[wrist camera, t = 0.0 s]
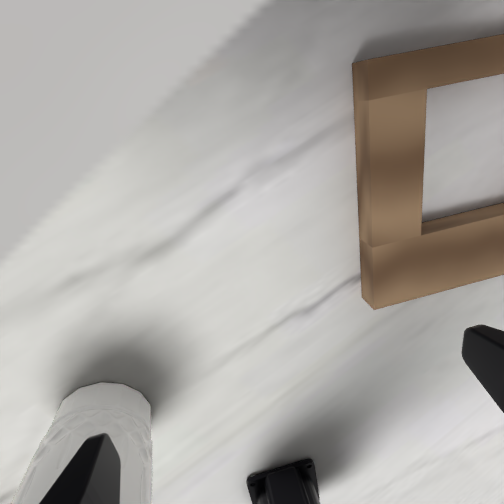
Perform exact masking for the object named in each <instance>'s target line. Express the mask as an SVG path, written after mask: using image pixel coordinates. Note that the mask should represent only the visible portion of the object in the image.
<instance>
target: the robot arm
mask: <svg viewBox="0 0 504 504" xmlns="http://www.w3.org/2000/svg"><path fill="white" fill-rule="evenodd" d="M462 357H463V359H464V361H465V363H466V364H467V366H468V367H469V368H470V370H471V371H472V372H473V374H474V375H475V376H476V377H477V379H478V380H479V381H480V383H481V384H482V385H483V387H484V388H485V389H486V391H487V392H488V393H489V395H490V396H491V397H492V398H493V400H494V401H495V402H496V404H497V405H498V406H499V408H500V409H501V410H502V411H503V413H504V331H501V330H498V329H495V328H492V327H489V326H486V325H476V326H473V327H469V328H467V329H466V330H465V331H464V337H463V345H462ZM120 477H121V461H120V457H119V454H118V452H117V450H116V448H115V446H114V444H113V442H112V440H111V438H110V436H109V435H108V434H107V433H101V434H98V435H94V436H91V437H89V438H87V439H86V440H85V441H84V442H83V444H82V445H81V447H80V448H79V449H78V451H77V452H76V453H75V455H74V456H73V458H72V459H71V460H70V462H69V463H68V464H67V466H66V467H65V468H64V470H63V471H62V473H61V474H60V475H59V477H58V478H57V479H56V481H55V482H54V484H53V485H52V486H51V488H50V489H49V490H48V492H47V493H46V495H45V496H44V497H43V499H42V500H41V501H40V503H39V504H120ZM247 486H248V490H249V493H250V497H251V500H252V504H320V502H319V493H318V486H317V479H316V473H315V466H314V463H313V460H312V459H306V460H303V461H300V462H297V463H294V464H291V465H287V466H284V467H281V468H278V469H275V470H272V471H268V472H265V473H262V474H259V475H256V476H253V477H250V478H248V479H247Z"/></svg>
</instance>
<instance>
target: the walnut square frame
mask: <svg viewBox="0 0 504 504" xmlns="http://www.w3.org/2000/svg"><path fill="white" fill-rule="evenodd" d="M352 74H353V97H354V121H355V145H356V169H357V192H358V216H359V240H360V264H361V287H362V298H363V299H364V300H365V301H366V302H367V303H368V304H369V305H370V306H371V307H372V308H373V309H374V310H376V309H380V308H383V307H387V306H391V305H394V304H398V303H402V302H405V301H409V300H413V299H416V298H420V297H423V296H427V295H431V294H434V293H438V292H442V291H445V290H449V289H453V288H456V287H460V286H464V285H467V284H471V283H475V282H478V281H482V280H486V279H489V278H493V277H497V276H500V275H504V203H500V204H496V205H492V206H488V207H484V208H480V209H476V210H472V211H468V212H463V213H459V214H455V215H451V216H447V217H443V218H439V219H435V220H431V221H427V222H423V223H421V222H422V197H423V173H424V148H425V123H426V99H427V89H429V88H434V87H439V86H444V85H449V84H454V83H459V82H464V81H469V80H474V79H479V78H484V77H489V76H494V75H499V74H504V34H501V35H496V36H491V37H485V38H480V39H475V40H469V41H464V42H458V43H453V44H448V45H442V46H437V47H432V48H426V49H421V50H416V51H410V52H405V53H400V54H394V55H389V56H383V57H378V58H373V59H368V60H364V61H360V62H356V63H352Z"/></svg>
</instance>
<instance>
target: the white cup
mask: <svg viewBox="0 0 504 504" xmlns="http://www.w3.org/2000/svg"><path fill="white" fill-rule="evenodd" d="M151 424H152V419H151V406H150V404H149V403H148V401H147V400H146V399H145V398H144V396H143V395H142V394H141V393H140V392H139V391H137V390H135V389H132V388H130V387H128V386H126V385H124V384H117V383H103V382H101V383H97V384H93V385H89V386H85V387H81V388H79V389H77V390H76V391H75V392H73V393H72V394H71V395H69V396H68V397H67V398H65V399H64V400H63V401H62V403H61V405H60V407H59V409H58V412H57V414H56V416H55V418H54V420H53V422H52V425H51V426H50V428H49V430H48V432H47V434H46V435H45V436H44V438H43V439H42V440H41V442H40V445H39V447H38V449H37V451H36V453H35V455H34V456H33V458H32V460H31V462H30V464H29V466H28V469H27V471H26V473H25V475H24V477H23V479H22V481H21V483H20V486H19V488H18V490H17V492H16V494H15V496H14V498H13V500H12V502H11V504H39V503H40V501H41V500H42V499H43V497H44V496H45V495H46V493H47V492H48V490H49V489H50V488H51V486H52V485H53V484H54V482H55V481H56V479H57V478H58V477H59V475H60V474H61V473H62V471H63V470H64V468H65V467H66V466H67V464H68V463H69V462H70V460H71V459H72V458H73V456H74V455H75V453H76V452H77V451H78V449H79V448H80V447H81V445H82V444H83V442H84V441H85V440H86V439H87V438H89V437H91V436H94V435H98V434H101V433H107V434H108V435H109V436H110V438H111V440H112V442H113V444H114V446H115V448H116V450H117V452H118V454H119V457H120V461H121V477H120V504H152V463H153V462H152V440H151Z"/></svg>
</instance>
